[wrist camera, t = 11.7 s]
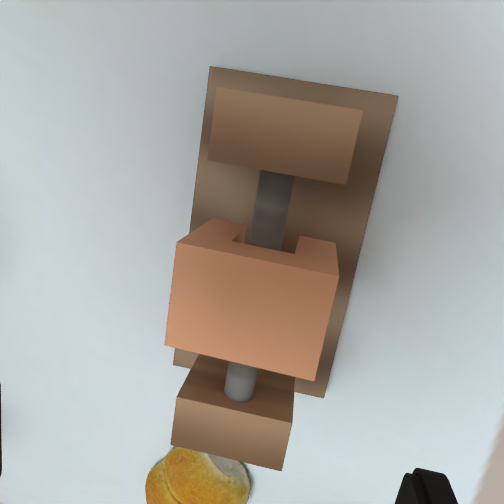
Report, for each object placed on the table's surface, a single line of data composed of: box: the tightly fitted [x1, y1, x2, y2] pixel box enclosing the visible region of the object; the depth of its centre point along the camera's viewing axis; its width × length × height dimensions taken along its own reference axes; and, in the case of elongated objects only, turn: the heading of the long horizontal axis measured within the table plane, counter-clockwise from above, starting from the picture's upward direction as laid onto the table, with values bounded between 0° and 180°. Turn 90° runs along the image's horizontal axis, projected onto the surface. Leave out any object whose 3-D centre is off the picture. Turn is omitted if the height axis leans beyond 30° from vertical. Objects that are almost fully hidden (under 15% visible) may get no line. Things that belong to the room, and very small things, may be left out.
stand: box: [170, 66, 398, 471], centre depth 25 cm, size 22×12×12 cm, turn 171°
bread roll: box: [145, 447, 250, 504], centre depth 35 cm, size 8×9×4 cm
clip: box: [164, 218, 339, 381], centre depth 21 cm, size 5×7×6 cm
